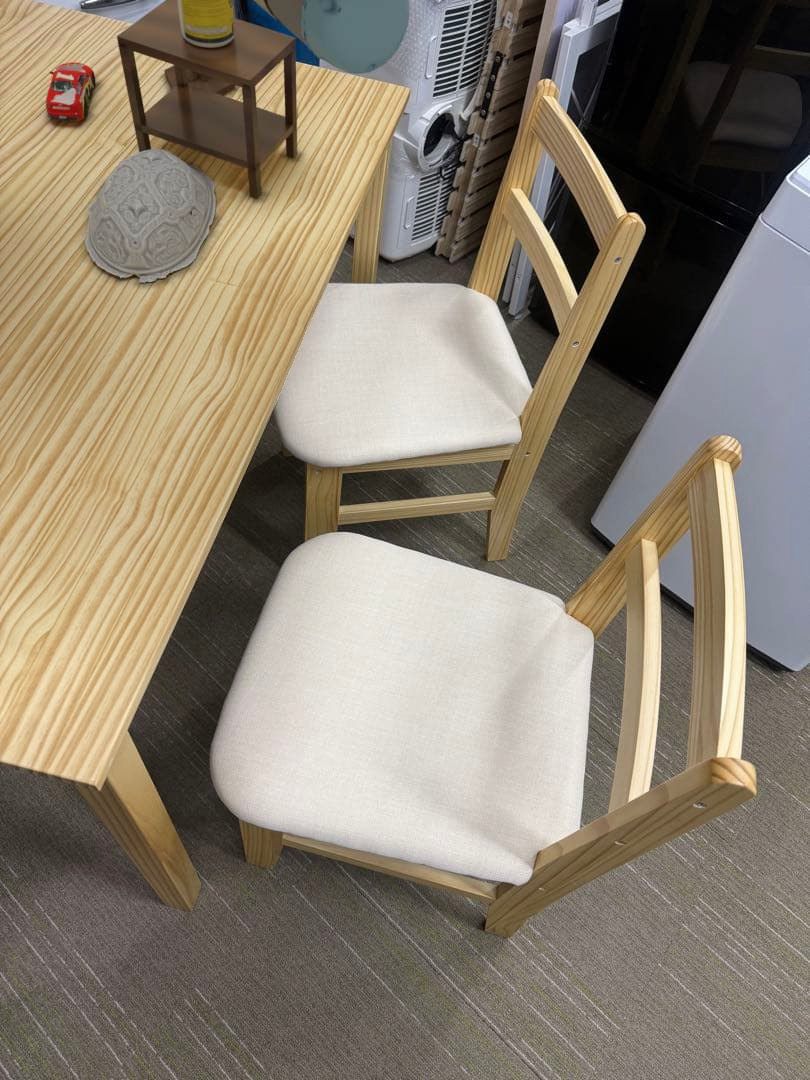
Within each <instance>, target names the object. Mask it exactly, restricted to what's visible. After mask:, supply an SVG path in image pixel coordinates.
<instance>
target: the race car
mask: <svg viewBox="0 0 810 1080" xmlns="http://www.w3.org/2000/svg"><path fill="white" fill-rule="evenodd" d="M49 74H50V75H52V76H51V81H50V85H49V88H48V91H47V94H46V98H45V108H46V112H47V117H48V118H49V119H50V120H53V121H56V122H57V121H60V122H61V121H62V122H74V123H75V122H80V121H82V120H84V119H85V118H86V117H88V109H89V108H90V107H89V106H90V103H91V99H92V95H93V92H94V89H95V87H96V77H95V71H94V70H93V69H92V68H91V67H90V66H88V65H86V64H84V63H81V62H66V63H62V64H60V65H58V66H57V67H56V68H55V70H54V71H51V70H50V71H49Z"/></svg>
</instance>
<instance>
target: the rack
mask: <svg viewBox="0 0 810 1080" xmlns="http://www.w3.org/2000/svg"><path fill="white" fill-rule="evenodd" d="M234 30H235V33H234V37H233V39H232V41H231V42H229V43H228V44H226V45H224V46H221V47H215V48H206V47H200V46H196V45H194V44H192V43H190V42H188V41H187V40H186V39H185V38H184V37H183V35H182V32H181V27H180V19H179V11H178V3H177V0H164V1H162V2H161V3H160V4H158V5H157V6H155V7H154V8H153V9H152V10H150V11H148V13H146V14H145V15H144V16H141V18H139V19H138V20H137V21H135V22H134V23H132V24H131V25H130V26H128V27H127V28H125V29H124V30H123V31H122V32H120V33H119V34H117V35H116V39H117V45H118V51H119V55H120V61H121V66H122V71H123V76H124V81H125V87H126V91H127V96H128V102H129V106H130V113H131V117H132V122H133V128H134V132H135V137H136V142H137V148H138V153H139V152H142V151H146V150H151V149H152V146H151V139H150V136H152V137H156V138H157V139H158V138H159V139H161V140H164V141H167V142H169V143H173V144H175V145H178V146H181V147H183V148H187V149H190V150H192V151H195V152H198V153H201V154H205V155H207V156H210V157H212V158H214V159H215V158H216V159H219V160H220V161H221V160H222V161H224V162H227V163H230V164H233V165H236V166H239V167H241V168H245V169H247V175H248V189H249V197H251V198H253V199H255V200H259V198H260V197H262V194H263V193H262V176H261V174H262V173H261V167H262V166H263V165H264V164H265V162H266V161H268V159H269V158H270V157H271V156H272V155H273V154H274V153H275V152H276V151H277V150H278V148H279V147H280V146H281V145H282V144H284V142H285V156H286V157H287V158H291V159H292V160H293V159H295V158H296V157H297V156H298V109H297V101H298V100H297V99H298V98H297V46H296V44H297V43H296V38H297V37H296V36H291V35H288V34H285V33H283V32H279V31H277V30H273V29H270V28H267V27H263V26H260V25H257V24H254V23H251V22H248V21H245V20H241V19H239V18H236V17H234ZM135 53H138V54H140V55H143V56H146V57H149V58H152V59H155V60H158V61H161V62H165V63H168V64H170V65H172V66H174V68H175V75H176V83H177V86H175V87H174V88H173V89H172V90H171V89H170V91H168V92H167V93H166V94H165V95H164V96H163V97H161V98H160V99H159V100H158V101H157V102H156V103H154V104H153V105H152V106H151V107H150V108H149V109H147V110H146V111H145V106H144V102H143V96H142V91H141V84H140V79H139V74H138V69H137V63H136V57H135ZM282 61H283V84H284V85H283V86H284V90H283V91H284V115H282V114H279V113H276V112H273V111H270V110H267V109H264V108H261V107H258V105H257V91H256V89H257V88H256V86H257V85H258V84H259V83H260V82H262V80H264V79H265V78H266V77H267V75H269V74H270V73H271V72H272V70H274V69H275V68H276V67H277V66H278V65H279V64H280V63H281V62H282ZM187 69H188V70H191V71H194V72H197V73H200V74H203V75H206V76H209V77H212V78H215V79H218V80H221V81H224V82H227V83H230V84H233V85H235V87H239V88H241V94H242V101H240V100H238V99H234V98H232V97H229V96H225V95H220V94H217V93H214V92H211V91H208V90H205V89H202V88H199V87H196V86H193V85H190V84H188V77H187Z"/></svg>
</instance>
